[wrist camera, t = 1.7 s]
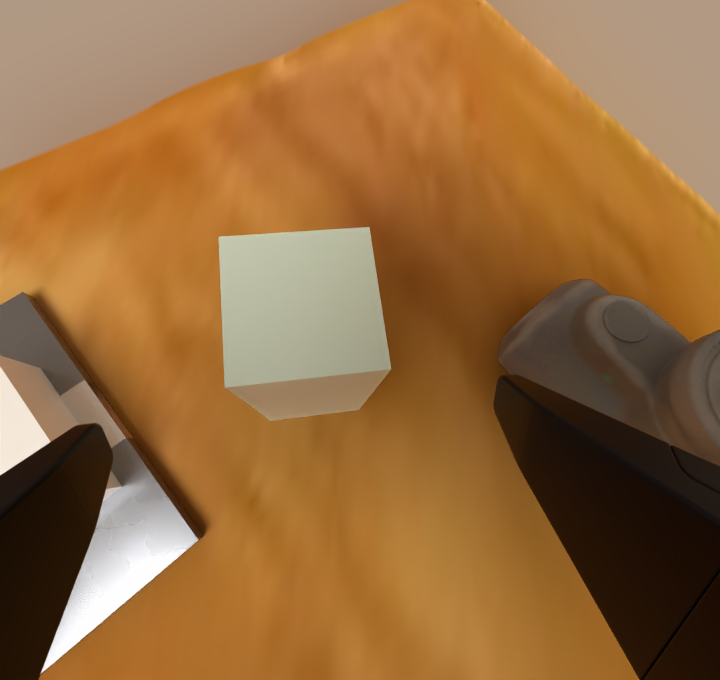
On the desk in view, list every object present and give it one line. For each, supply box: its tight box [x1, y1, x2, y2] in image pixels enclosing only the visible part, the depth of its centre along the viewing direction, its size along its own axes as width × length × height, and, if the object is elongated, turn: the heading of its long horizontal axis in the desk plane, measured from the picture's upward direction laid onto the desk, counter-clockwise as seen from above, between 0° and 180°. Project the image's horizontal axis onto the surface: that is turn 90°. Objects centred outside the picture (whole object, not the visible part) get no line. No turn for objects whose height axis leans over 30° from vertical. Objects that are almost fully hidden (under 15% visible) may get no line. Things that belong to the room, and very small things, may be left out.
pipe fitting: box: [498, 279, 720, 466], centre depth 17 cm, size 12×8×10 cm
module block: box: [219, 227, 391, 421], centre depth 16 cm, size 4×4×10 cm
